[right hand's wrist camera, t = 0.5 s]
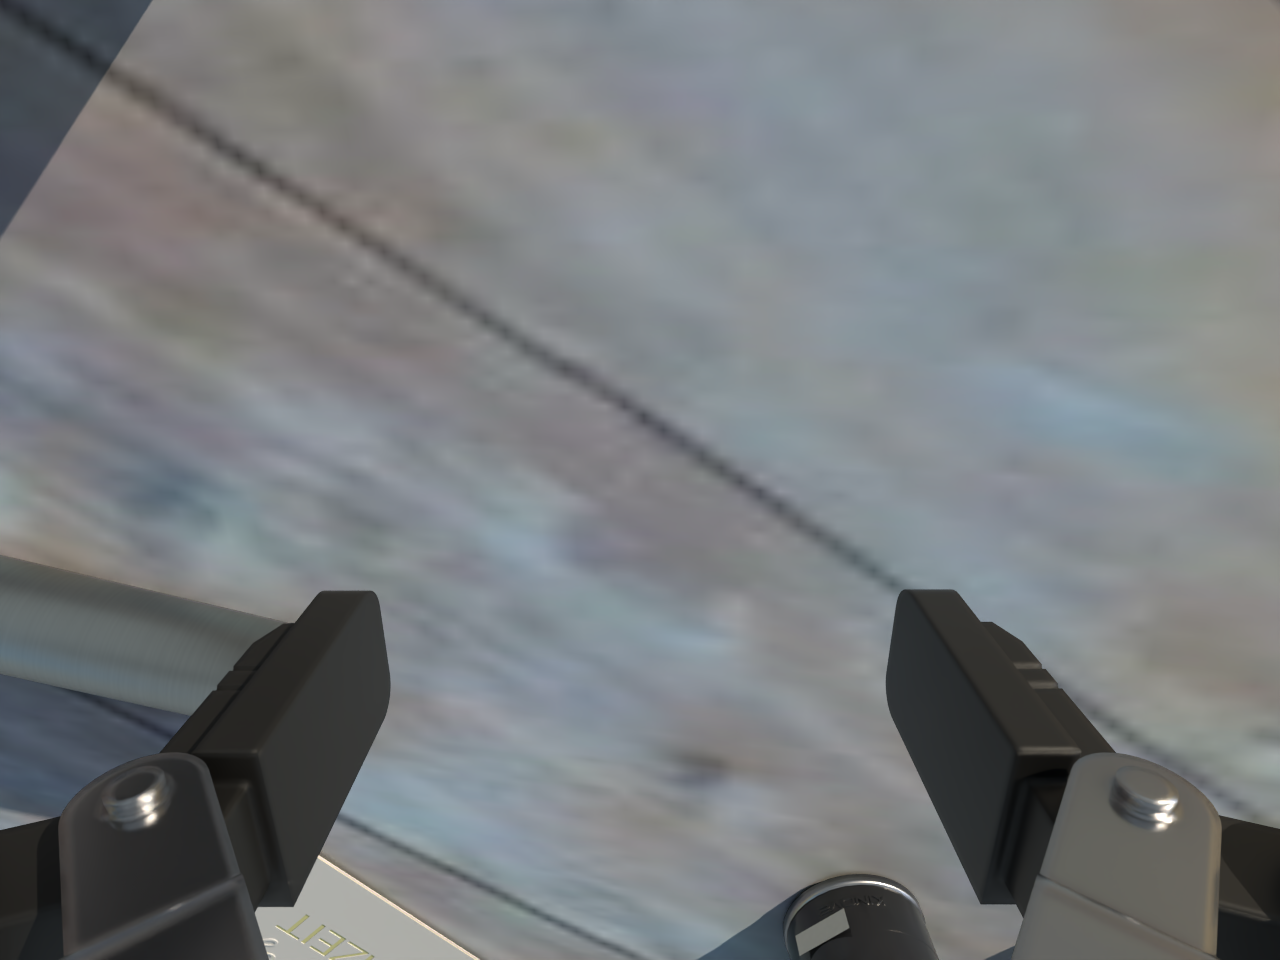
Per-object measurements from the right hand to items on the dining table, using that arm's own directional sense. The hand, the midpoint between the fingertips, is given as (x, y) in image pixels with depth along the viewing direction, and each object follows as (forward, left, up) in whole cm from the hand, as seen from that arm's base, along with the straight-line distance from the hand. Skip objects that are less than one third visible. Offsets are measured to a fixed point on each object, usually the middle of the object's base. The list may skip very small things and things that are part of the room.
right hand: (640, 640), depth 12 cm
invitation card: (-40, +30, -26) cm, 56 cm away
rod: (-6, +35, -26) cm, 44 cm away
